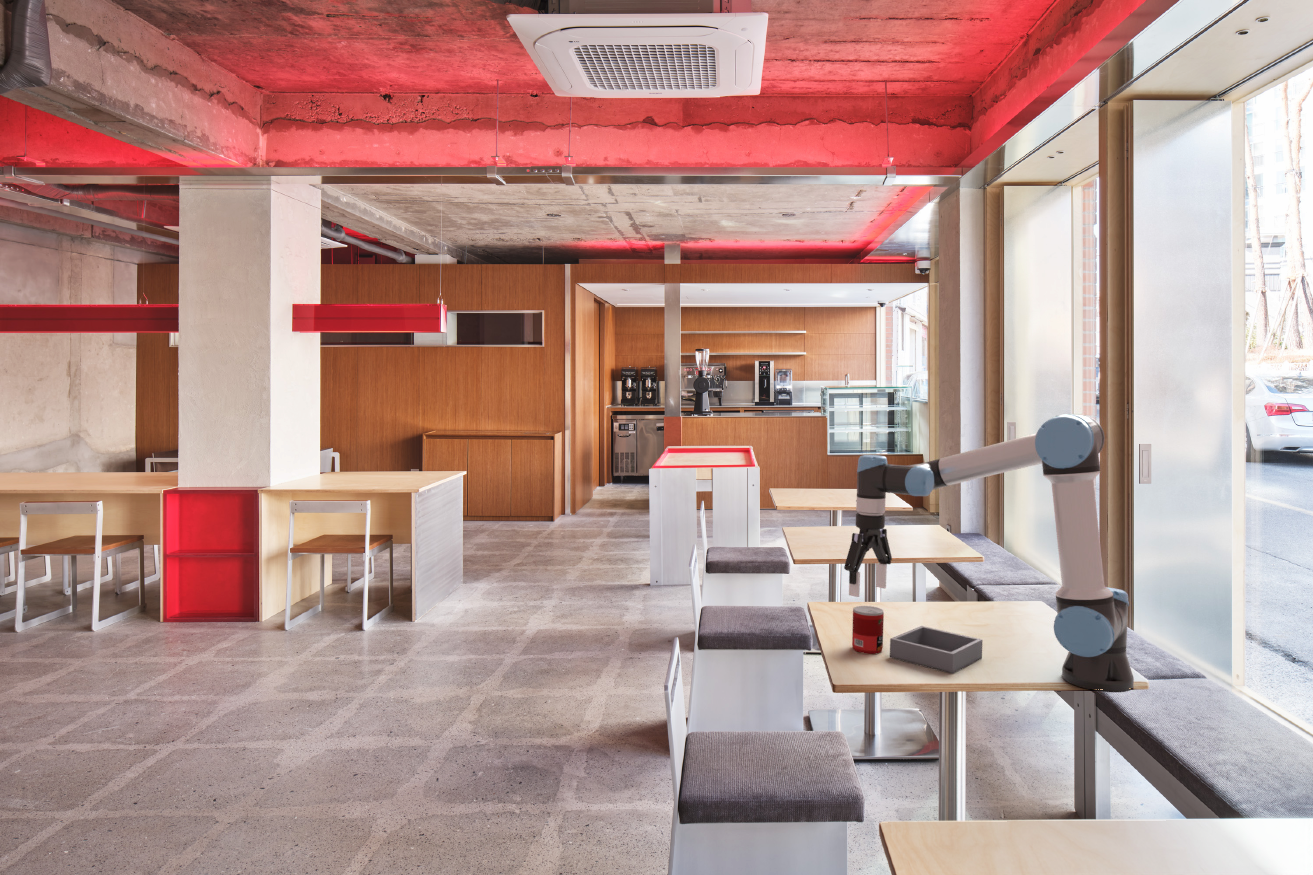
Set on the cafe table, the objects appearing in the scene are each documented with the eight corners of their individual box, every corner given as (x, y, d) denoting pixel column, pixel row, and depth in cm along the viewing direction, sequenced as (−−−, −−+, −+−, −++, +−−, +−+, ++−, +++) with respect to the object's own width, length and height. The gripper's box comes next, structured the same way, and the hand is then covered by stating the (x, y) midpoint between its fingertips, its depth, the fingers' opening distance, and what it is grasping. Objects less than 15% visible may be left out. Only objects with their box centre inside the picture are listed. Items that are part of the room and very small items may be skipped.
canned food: (883, 655, 212) (884, 614, 211) (852, 652, 214) (853, 612, 213) (881, 646, 220) (882, 606, 219) (851, 644, 221) (852, 604, 221)
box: (981, 658, 210) (982, 639, 210) (952, 673, 198) (953, 653, 198) (921, 643, 222) (921, 625, 222) (889, 657, 210) (890, 638, 210)
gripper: (881, 507, 226) (879, 581, 227) (832, 516, 209) (829, 596, 210) (906, 510, 221) (903, 586, 222) (857, 519, 203) (854, 602, 205)
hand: (867, 591), depth 216 cm, fingers open, 13 cm apart
